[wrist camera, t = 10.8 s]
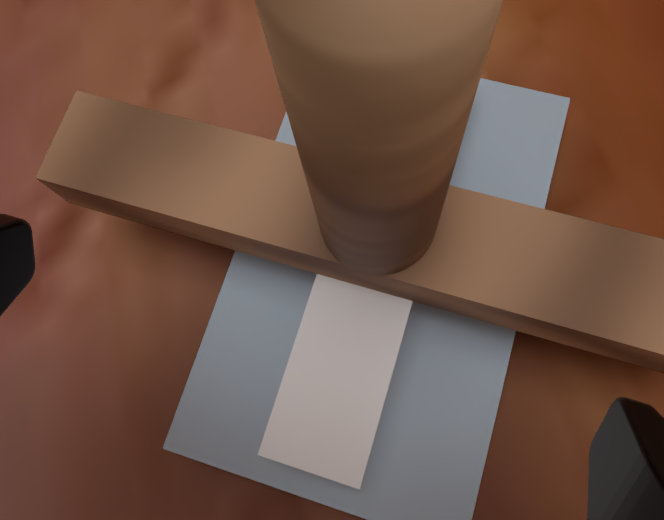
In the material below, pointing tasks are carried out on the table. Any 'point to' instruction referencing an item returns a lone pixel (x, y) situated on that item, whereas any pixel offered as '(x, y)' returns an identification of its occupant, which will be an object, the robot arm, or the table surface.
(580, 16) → the table surface
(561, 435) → the table surface
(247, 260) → the stand
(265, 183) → the wooden bar with post
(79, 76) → the table surface
